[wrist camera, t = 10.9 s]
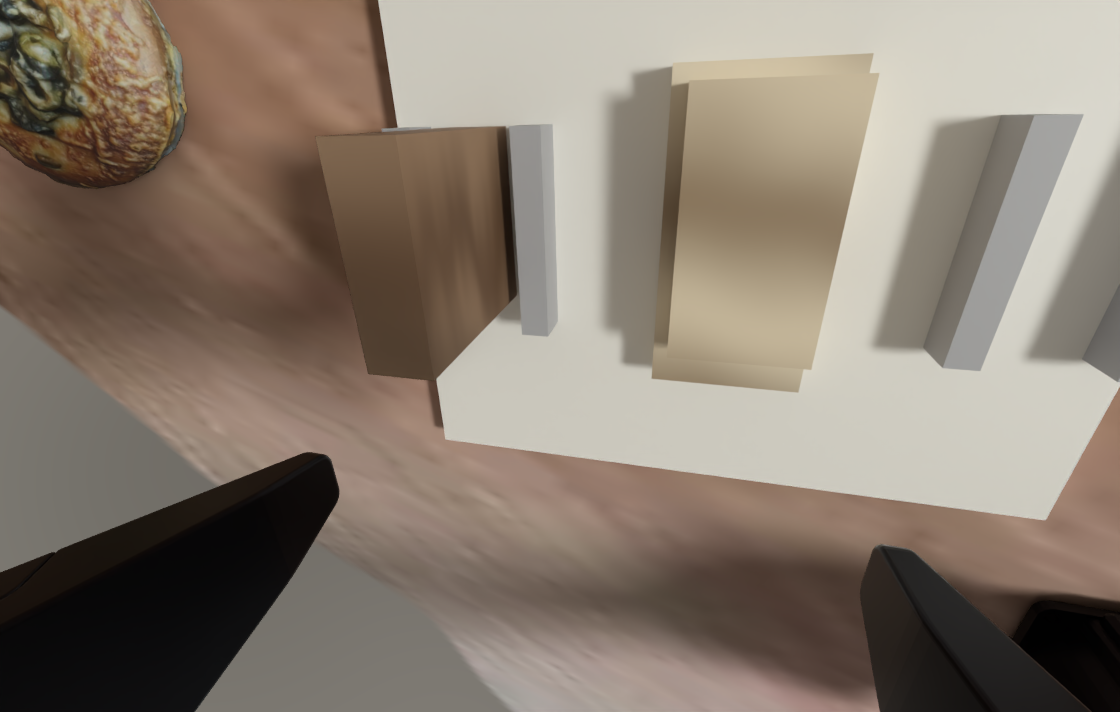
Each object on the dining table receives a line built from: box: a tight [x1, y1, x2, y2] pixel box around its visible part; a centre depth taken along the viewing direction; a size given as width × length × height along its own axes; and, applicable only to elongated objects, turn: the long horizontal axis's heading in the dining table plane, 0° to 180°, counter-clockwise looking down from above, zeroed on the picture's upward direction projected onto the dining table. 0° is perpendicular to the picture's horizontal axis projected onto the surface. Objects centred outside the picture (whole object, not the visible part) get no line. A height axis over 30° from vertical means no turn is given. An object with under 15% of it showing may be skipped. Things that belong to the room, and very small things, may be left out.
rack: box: [378, 0, 1120, 520], centre depth 16 cm, size 20×24×2 cm
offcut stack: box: [651, 53, 879, 393], centre depth 15 cm, size 10×5×2 cm, turn 1°
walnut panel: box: [315, 126, 517, 381], centre depth 15 cm, size 6×2×7 cm, turn 1°
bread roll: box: [0, 0, 187, 189], centre depth 19 cm, size 11×11×5 cm
